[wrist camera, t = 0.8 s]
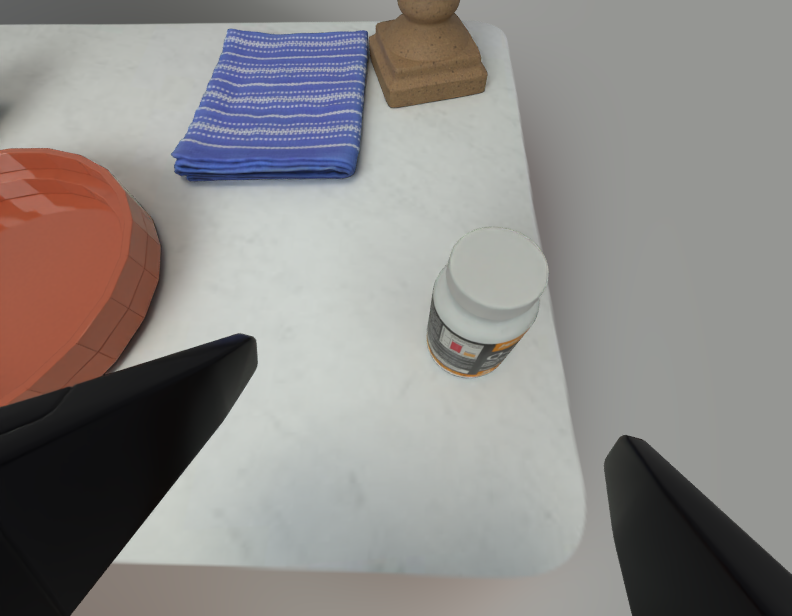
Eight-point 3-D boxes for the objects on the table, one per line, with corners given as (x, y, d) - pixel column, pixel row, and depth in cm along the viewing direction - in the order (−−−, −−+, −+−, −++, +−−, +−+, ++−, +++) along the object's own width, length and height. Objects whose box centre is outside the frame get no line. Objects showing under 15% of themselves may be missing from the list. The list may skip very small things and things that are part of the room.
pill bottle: (489, 394, 23) (543, 341, 14) (412, 358, 24) (418, 290, 16) (515, 324, 26) (574, 241, 17) (443, 295, 27) (463, 203, 18)
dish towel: (176, 187, 32) (156, 162, 30) (232, 45, 43) (221, 18, 40) (358, 186, 32) (354, 161, 29) (370, 44, 42) (368, 16, 40)
